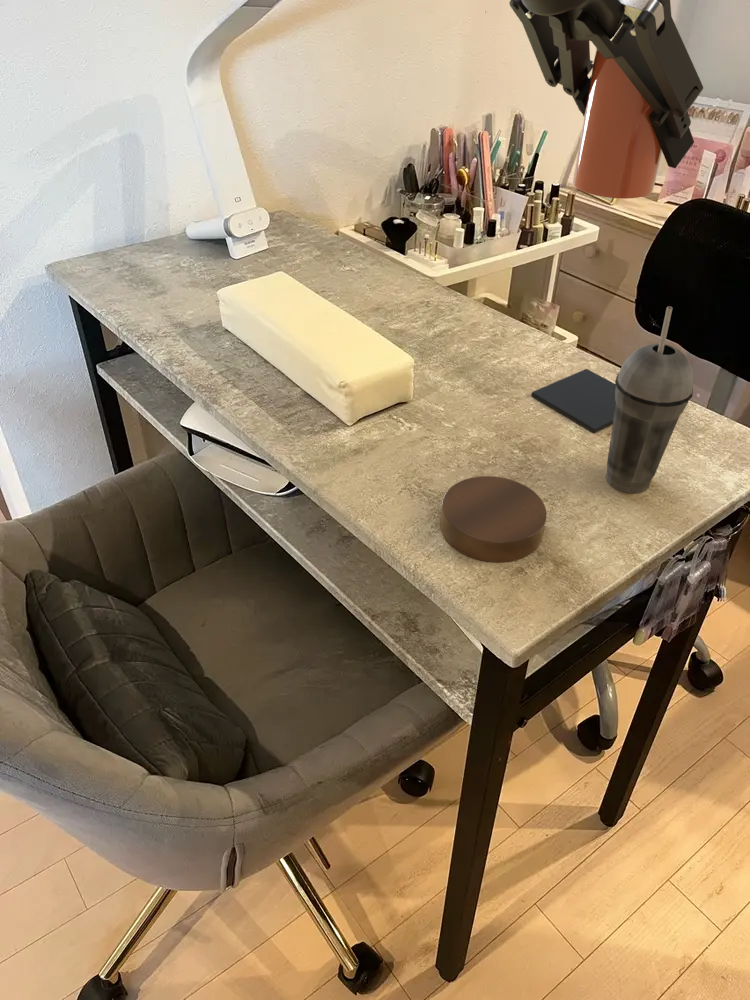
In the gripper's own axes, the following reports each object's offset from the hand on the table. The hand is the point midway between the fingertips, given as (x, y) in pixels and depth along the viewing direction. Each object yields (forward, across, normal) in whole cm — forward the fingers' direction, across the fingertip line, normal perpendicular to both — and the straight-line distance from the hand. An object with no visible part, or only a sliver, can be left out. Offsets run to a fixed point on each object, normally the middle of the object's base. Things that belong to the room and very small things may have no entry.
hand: (644, 144), depth 70 cm
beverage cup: (+19, +10, -25) cm, 33 cm away
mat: (+25, -3, -18) cm, 31 cm away
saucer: (+6, +7, -37) cm, 38 cm away
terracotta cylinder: (0, 0, -5) cm, 5 cm away
